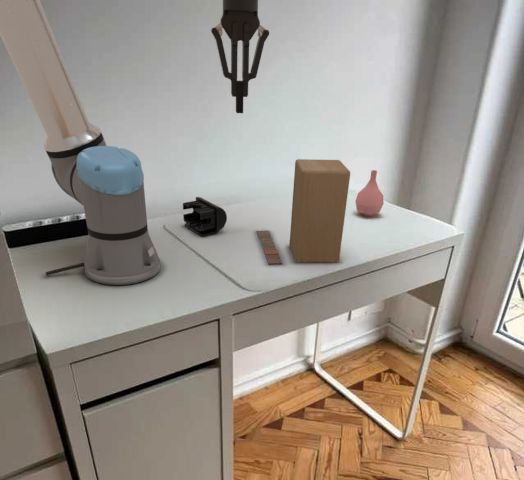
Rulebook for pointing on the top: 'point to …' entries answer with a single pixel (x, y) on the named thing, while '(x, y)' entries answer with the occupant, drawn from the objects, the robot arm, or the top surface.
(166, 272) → the top surface
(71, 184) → the robot arm
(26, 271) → the top surface
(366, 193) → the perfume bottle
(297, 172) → the wooden block
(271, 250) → the ruler
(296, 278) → the top surface
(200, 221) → the end cap
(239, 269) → the top surface
